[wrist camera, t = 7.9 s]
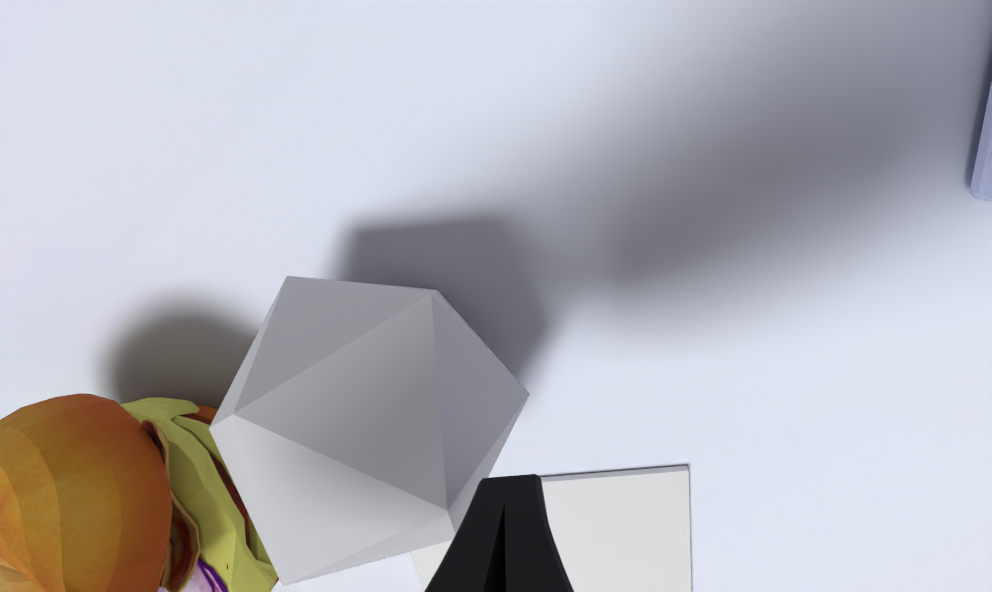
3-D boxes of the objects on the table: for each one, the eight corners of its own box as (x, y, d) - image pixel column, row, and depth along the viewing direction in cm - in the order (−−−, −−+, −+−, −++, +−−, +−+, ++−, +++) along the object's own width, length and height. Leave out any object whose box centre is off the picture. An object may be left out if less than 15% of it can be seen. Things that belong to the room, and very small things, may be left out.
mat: (686, 465, 20) (688, 470, 19) (691, 648, 24) (692, 654, 24) (392, 489, 21) (390, 494, 21) (446, 655, 26) (446, 661, 25)
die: (353, 170, 16) (291, 368, 21) (133, 310, 8) (121, 568, 13) (574, 285, 16) (462, 447, 21) (569, 511, 9) (397, 679, 14)
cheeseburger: (181, 613, 23) (-156, 830, 13) (144, 398, 24) (-188, 454, 14) (351, 591, 20) (75, 849, 10) (297, 347, 21) (8, 376, 12)
